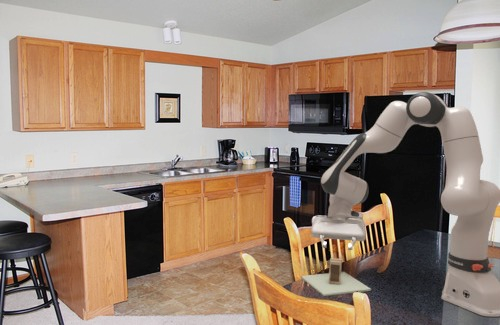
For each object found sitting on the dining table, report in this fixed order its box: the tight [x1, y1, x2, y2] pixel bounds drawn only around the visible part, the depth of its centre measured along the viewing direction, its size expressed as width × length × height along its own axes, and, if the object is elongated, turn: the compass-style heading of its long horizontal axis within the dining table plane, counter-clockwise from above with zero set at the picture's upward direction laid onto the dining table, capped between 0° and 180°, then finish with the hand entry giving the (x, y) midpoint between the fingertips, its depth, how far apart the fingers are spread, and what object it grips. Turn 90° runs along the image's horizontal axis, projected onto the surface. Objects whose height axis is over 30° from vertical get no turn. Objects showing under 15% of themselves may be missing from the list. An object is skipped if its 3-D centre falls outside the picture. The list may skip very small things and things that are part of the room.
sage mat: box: [300, 271, 372, 297], centre depth 155 cm, size 18×18×1 cm
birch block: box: [328, 257, 343, 285], centre depth 155 cm, size 4×4×8 cm
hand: (337, 248), depth 160 cm, fingers open, 8 cm apart
